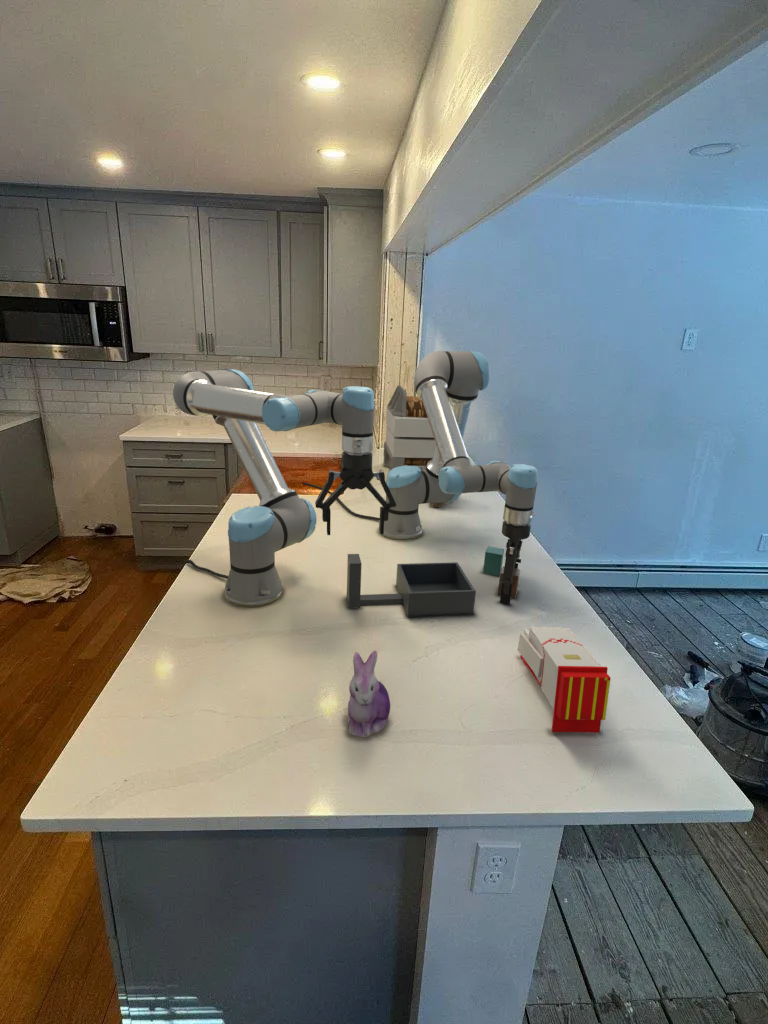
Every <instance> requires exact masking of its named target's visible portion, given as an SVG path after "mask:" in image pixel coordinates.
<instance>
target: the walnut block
mask: <svg viewBox="0 0 768 1024" xmlns="http://www.w3.org/2000/svg"><path fill="white" fill-rule="evenodd" d="M504 566H505V565H502V570H501V573H500V576H499V581H498V589H497V596H498V597H500V596H501V588H502V582H500V579H502V578H503V572H504ZM520 576H521V569H520V568H518V569H516V568H514V574H513V579H512V581H513V584H512V592H511V599H514V600H516V599H517V595H518V592H519V583H520Z"/></svg>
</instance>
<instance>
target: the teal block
mask: <svg viewBox="0 0 768 1024" xmlns="http://www.w3.org/2000/svg"><path fill="white" fill-rule="evenodd" d="M504 556H505V548H501V547H498V546H497V547H495V546H491V545H488V546H487V548H486V549H485V552H484V560H483V568H482V569H483V570H482V573H483V574H487V575H492V576H498V577H500V573H501V570H502V567H503V563H504Z"/></svg>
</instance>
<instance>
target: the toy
mask: <svg viewBox="0 0 768 1024" xmlns="http://www.w3.org/2000/svg"><path fill="white" fill-rule="evenodd" d="M518 638H519V639H518V646H517V651H518V653H519V654H520V659H521V660H522V662H523V663H524V665H525V666H526V668H527V669H528V670H529V672H530V673H531V675H532V676H533V678H534V679H535V681H536V683H537V684H538V685H539V687H541V691H542V692H543V694H544V695H545V697H546V698H547V701H548V702H549V704H550V705H551V707H552V709H553V714H552V724H551V732H552V733H586V734H587V733H593V734H595V733H597V734H600V732H601V724H602V721H606V719H607V711H608V710H607V709H608V701H609V694H610V686H611V676H610V675H609V674H608V669H609V668H608V666H601V665H600V663H599V662H598V661H597V660H596V658H594V656H593V655H592V654H591V652H589V651H588V649H587V648H586V647H585V646H584V644H583V643H582V642H581V640H579V639H578V637H577V636H576V635H575V633H573V631H572V630H571V629H570V628H569V627H557V626H556V627H555V626H554V627H553V626H529V628H524V629H523V632H520V633H519V637H518Z"/></svg>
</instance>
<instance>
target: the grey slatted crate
mask: <svg viewBox="0 0 768 1024" xmlns="http://www.w3.org/2000/svg"><path fill="white" fill-rule="evenodd" d="M407 394H408V393H407V390H406V389H404V388H403V387H402V385H399V384H398V385H397V386H396V388H395V390H394V392H393V394H392V395H391V398H390V400H389V402H388V404H387V405H386V413H385V414H386V415H385V423H386V428H385V438H384V442H383V466H384V467H388V468H389V471H390V470H392V469H393V468H396V467H400V466H416V467H426V466H427V463H428V462H429V461H430V460H432V459H433V454H434V449H435V444H436V442H435V439H434V436H433V433H432V430H431V427H430V424H429V421H428V417H427V414H426V411H425V408H424V405H423V402H422V400H420V399H419V398H418V397H417V396H415V395H414V396H413V395H412V396H411V395H407Z"/></svg>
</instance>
